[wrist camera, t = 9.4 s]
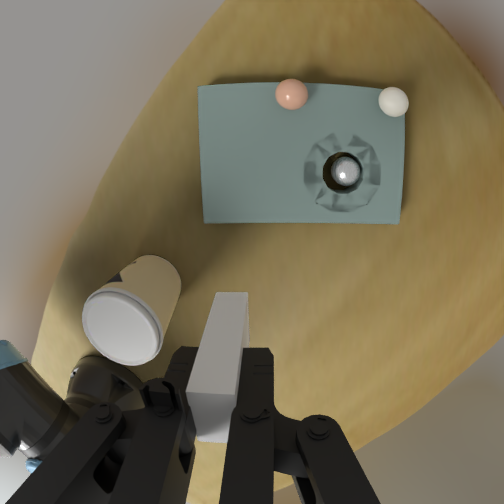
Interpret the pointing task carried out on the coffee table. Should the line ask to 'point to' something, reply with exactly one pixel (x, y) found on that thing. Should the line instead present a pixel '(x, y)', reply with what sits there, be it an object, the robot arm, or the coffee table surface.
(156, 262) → the coffee cup
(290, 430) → the robot arm
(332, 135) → the board
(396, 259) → the coffee table surface
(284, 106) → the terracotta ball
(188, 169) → the coffee table surface
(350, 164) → the steel ball
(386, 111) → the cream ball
